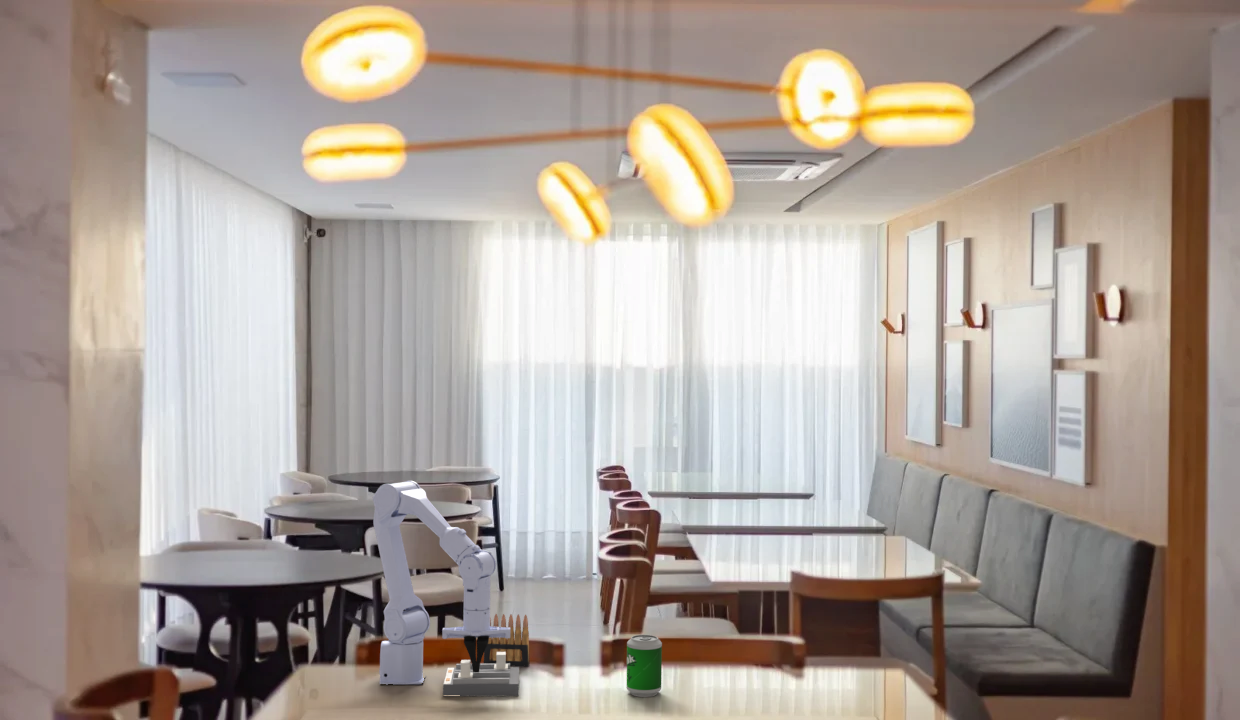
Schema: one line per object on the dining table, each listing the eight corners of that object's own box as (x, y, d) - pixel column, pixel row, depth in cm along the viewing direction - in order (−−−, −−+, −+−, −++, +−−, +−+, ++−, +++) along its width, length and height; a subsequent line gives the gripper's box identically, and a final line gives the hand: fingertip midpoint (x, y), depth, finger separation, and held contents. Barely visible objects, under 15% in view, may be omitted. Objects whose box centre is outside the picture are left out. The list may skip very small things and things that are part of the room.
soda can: (665, 690, 260) (666, 635, 260) (655, 699, 253) (655, 643, 253) (632, 687, 263) (633, 632, 263) (621, 696, 256) (622, 640, 256)
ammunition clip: (529, 664, 281) (530, 613, 281) (528, 666, 279) (529, 615, 279) (484, 663, 282) (485, 612, 282) (483, 665, 280) (483, 614, 280)
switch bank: (443, 696, 254) (443, 679, 254) (447, 678, 268) (447, 663, 268) (518, 695, 255) (518, 679, 255) (518, 678, 269) (519, 662, 269)
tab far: (493, 672, 263) (494, 655, 263) (494, 668, 267) (494, 651, 267) (507, 672, 263) (507, 655, 263) (507, 667, 267) (508, 651, 267)
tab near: (458, 680, 256) (458, 663, 256) (458, 676, 259) (459, 659, 259) (472, 680, 256) (472, 663, 256) (472, 676, 259) (473, 659, 259)
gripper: (441, 612, 253) (440, 676, 253) (510, 611, 254) (509, 675, 254) (443, 605, 260) (443, 667, 260) (510, 605, 261) (510, 667, 261)
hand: (476, 671), depth 258 cm, fingers closed
